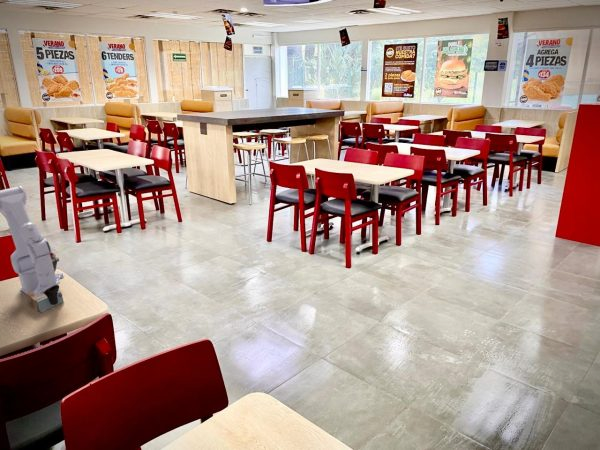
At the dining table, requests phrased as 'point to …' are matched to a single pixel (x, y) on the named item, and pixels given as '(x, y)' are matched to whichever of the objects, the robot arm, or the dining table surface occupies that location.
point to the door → (45, 303)
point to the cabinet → (34, 299)
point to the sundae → (54, 260)
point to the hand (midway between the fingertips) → (54, 303)
